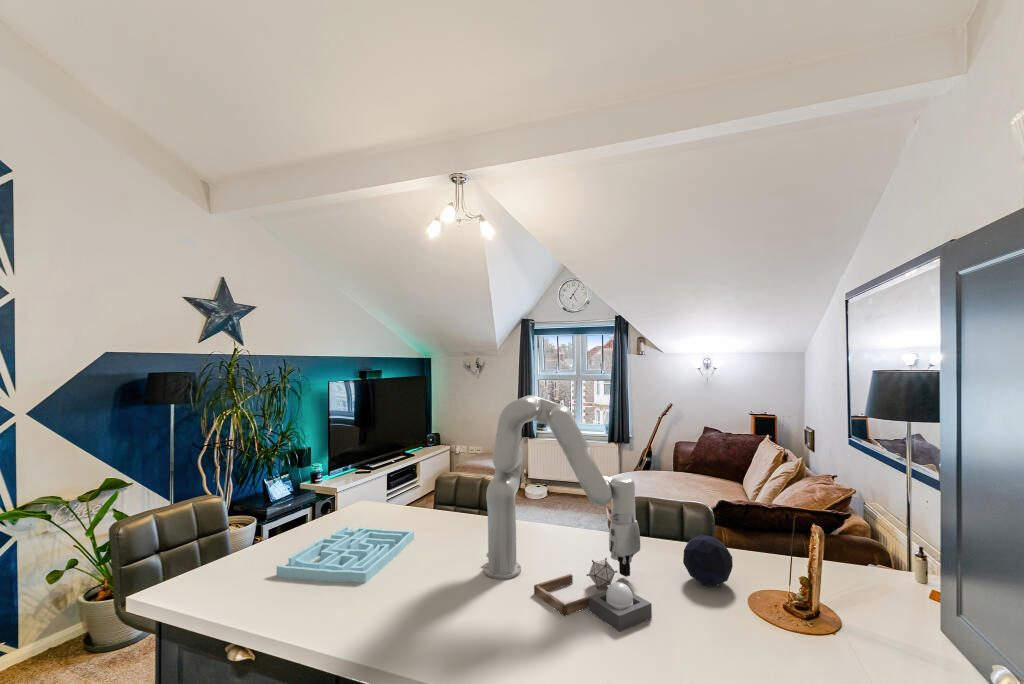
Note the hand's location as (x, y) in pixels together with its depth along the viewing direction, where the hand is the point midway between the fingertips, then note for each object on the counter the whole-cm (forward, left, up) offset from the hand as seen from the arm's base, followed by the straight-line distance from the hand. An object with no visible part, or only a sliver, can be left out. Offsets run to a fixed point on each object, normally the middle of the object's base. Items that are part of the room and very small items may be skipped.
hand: (624, 574), depth 149 cm
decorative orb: (+16, +20, -2) cm, 26 cm away
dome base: (+15, -17, -1) cm, 23 cm away
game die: (0, -10, -2) cm, 10 cm away
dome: (+15, -17, 0) cm, 23 cm away
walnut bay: (0, -23, -1) cm, 23 cm away
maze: (-67, -71, -2) cm, 98 cm away
